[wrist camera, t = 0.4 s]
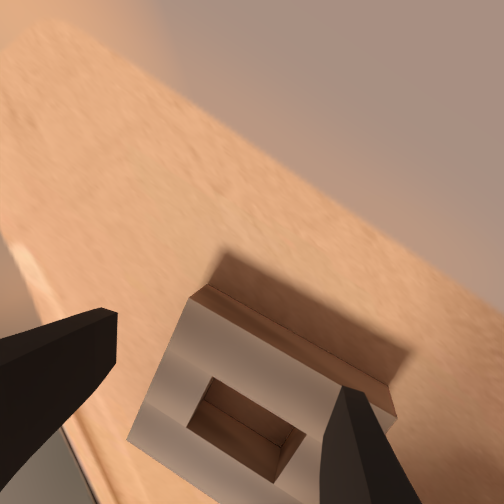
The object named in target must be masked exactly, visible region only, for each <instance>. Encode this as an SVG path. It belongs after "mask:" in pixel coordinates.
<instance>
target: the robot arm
mask: <svg viewBox="0 0 504 504" xmlns="http://www.w3.org/2000/svg"><path fill="white" fill-rule="evenodd" d="M117 318H118V313H117V312H114V311H111V310H108V309H105V308H102V307H101V308H97V309H93V310H90V311H86V312H83V313H80V314H77V315H74V316H71V317H68V318H65V319H62V320H59V321H55V322H52V323H49V324H46V325H43V326H40V327H37V328H34V329H31V330H28V331H25V332H22V333H18V334H15V335H12V336H9V337H5V338H2V339H0V492H1V490H2V489H3V488H4V487H5V486H6V484H7V483H8V482H9V481H10V480H11V478H12V477H13V476H14V475H15V474H16V472H17V471H18V470H19V469H20V468H21V467H22V466H23V465H24V464H25V463H26V462H27V460H28V459H29V458H30V457H31V456H32V455H33V454H34V453H35V452H36V451H37V450H38V449H39V448H40V447H41V446H42V445H43V444H44V443H45V442H46V441H47V440H48V439H49V438H50V437H51V436H52V434H54V433H55V432H56V431H57V430H58V429H59V428H60V427H61V426H62V425H63V424H64V422H65V421H66V420H67V419H68V418H69V417H70V416H71V415H72V414H73V413H74V412H75V411H76V410H77V409H78V408H79V407H80V406H81V405H82V404H83V403H84V402H85V401H86V400H87V399H88V398H89V397H90V396H91V395H92V393H93V392H94V391H95V390H96V389H97V388H98V386H99V385H100V384H101V383H102V381H103V380H104V379H105V377H106V376H107V375H108V373H109V372H110V371H111V369H112V368H113V367H114V365H115V364H116V351H117ZM319 501H320V504H422V503H421V501H420V499H419V498H418V496H417V494H416V492H415V490H414V489H413V487H412V485H411V483H410V481H409V480H408V478H407V476H406V474H405V472H404V470H403V468H402V467H401V465H400V463H399V461H398V459H397V457H396V455H395V453H394V452H393V450H392V448H391V446H390V444H389V442H388V440H387V438H386V436H385V434H384V432H383V430H382V428H381V426H380V424H379V422H378V419H377V417H376V415H375V413H374V411H373V409H372V407H371V405H370V403H369V401H368V399H367V397H366V395H365V393H364V392H362V391H359V390H356V389H352V388H349V387H346V386H343V385H342V387H341V390H340V392H339V395H338V398H337V400H336V403H335V406H334V408H333V411H332V414H331V416H330V419H329V422H328V424H327V427H326V430H325V432H324V435H323V441H322V451H321V462H320V474H319Z"/></svg>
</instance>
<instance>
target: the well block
mask: <svg viewBox="0 0 504 504" xmlns="http://www.w3.org/2000/svg"><path fill="white" fill-rule="evenodd" d="M214 378H216V379H218V380H219V381H221V382H223V383H224V384H226V385H227V386H229V387H231V388H232V389H234V390H236V391H237V392H239V393H241V394H242V395H244V396H245V397H247V398H249V399H250V400H252V401H254V402H255V403H257V404H258V405H260V406H262V407H263V408H265V409H267V410H268V411H270V412H272V413H273V414H275V415H276V416H278V417H280V418H281V419H283V420H285V421H286V422H288V423H289V424H291V425H293V426H294V429H293V430H292V432H291V433H290V435H289V436H288V438H287V439H286V441H285V443H284V444H283V446H282V447H281V448H280V447H278V446H277V445H275V444H273V443H272V442H270V441H269V440H267V439H265V438H264V437H262V436H261V435H259V434H257V433H256V432H254V431H253V430H251V429H250V428H248V427H246V426H245V425H243V424H242V423H240V422H238V421H237V420H235V419H234V418H232V417H230V416H229V415H227V414H226V413H224V412H222V411H221V410H219V409H218V408H216V407H214V406H213V405H211V404H210V403H208V402H207V401H205V400H203V399H204V397H205V395H206V393H207V391H208V389H209V387H210V386H211V384H212V382H213V380H214ZM342 385H343V386H346V387H349V388H352V389H356V390H359V391H362V392H364V393H365V395H366V397H367V399H368V401H369V403H370V405H371V407H372V409H373V411H374V413H375V415H376V417H377V419H378V422H379V424H380V426H381V428H382V430H383V432H384V434H386V433H387V431H388V430H389V429H390V427H391V426H392V425H393V424H394V422H395V421H396V420H397V415H396V412H395V408H394V405H393V401H392V398H391V394H390V391H389V388H388V386H387V385H385V384H383V383H381V382H380V381H378V380H376V379H374V378H372V377H371V376H369V375H367V374H365V373H364V372H362V371H360V370H358V369H357V368H355V367H353V366H351V365H350V364H348V363H346V362H344V361H342V360H341V359H339V358H337V357H335V356H334V355H332V354H330V353H328V352H327V351H325V350H323V349H321V348H319V347H318V346H316V345H314V344H312V343H311V342H309V341H307V340H305V339H304V338H302V337H300V336H298V335H296V334H295V333H293V332H291V331H289V330H288V329H286V328H284V327H282V326H281V325H279V324H277V323H275V322H274V321H272V320H270V319H268V318H266V317H265V316H263V315H261V314H259V313H258V312H256V311H254V310H252V309H251V308H249V307H247V306H245V305H243V304H242V303H240V302H238V301H236V300H235V299H233V298H231V297H229V296H228V295H226V294H224V293H222V292H220V291H219V290H217V289H215V288H213V287H212V286H210V285H208V284H207V285H205V286H204V287H203V288H201V289H200V290H199V291H197V292H196V293H195V294H193V295H192V296H190V297H189V298H188V301H187V303H186V305H185V307H184V310H183V312H182V314H181V317H180V319H179V321H178V323H177V326H176V328H175V330H174V332H173V335H172V337H171V339H170V342H169V344H168V346H167V348H166V351H165V353H164V355H163V357H162V360H161V362H160V364H159V366H158V369H157V371H156V373H155V376H154V378H153V380H152V382H151V385H150V387H149V389H148V391H147V394H146V396H145V398H144V401H143V403H142V405H141V407H140V410H139V412H138V414H137V416H136V419H135V421H134V423H133V425H132V428H131V430H130V432H129V435H128V437H127V439H126V440H127V441H128V442H130V443H131V444H133V445H134V446H136V447H137V448H139V449H140V450H142V451H143V452H144V453H146V454H147V455H149V456H150V457H152V458H153V459H155V460H156V461H158V462H159V463H161V464H162V465H164V466H165V467H167V468H168V469H170V470H171V471H173V472H174V473H175V474H177V475H178V476H180V477H181V478H183V479H184V480H186V481H187V482H189V483H190V484H192V485H193V486H195V487H196V488H198V489H199V490H201V491H202V492H204V493H205V494H207V495H208V496H209V497H211V498H212V499H214V500H215V501H217V502H218V503H220V504H320V501H319V474H320V462H321V451H322V441H323V435H324V432H325V430H326V427H327V424H328V422H329V419H330V416H331V414H332V411H333V408H334V406H335V403H336V400H337V398H338V395H339V392H340V390H341V387H342Z"/></svg>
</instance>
